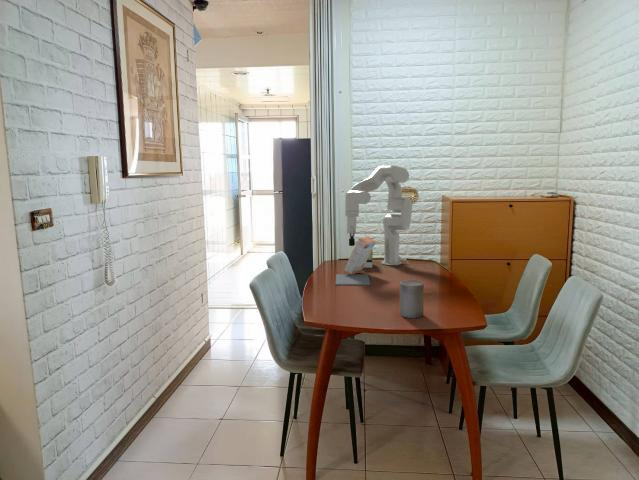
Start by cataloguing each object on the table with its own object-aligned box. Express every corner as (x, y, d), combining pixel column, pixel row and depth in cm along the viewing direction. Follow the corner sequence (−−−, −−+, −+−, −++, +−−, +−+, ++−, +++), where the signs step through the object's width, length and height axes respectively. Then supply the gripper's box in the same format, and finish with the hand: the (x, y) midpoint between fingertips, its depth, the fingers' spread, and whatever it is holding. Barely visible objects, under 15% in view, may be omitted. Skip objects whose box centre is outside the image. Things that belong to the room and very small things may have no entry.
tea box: (372, 267, 288) (373, 244, 285) (356, 268, 288) (356, 244, 286) (370, 263, 303) (370, 240, 300) (355, 263, 303) (355, 240, 301)
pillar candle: (420, 311, 199) (420, 276, 196) (426, 318, 189) (426, 281, 187) (397, 311, 198) (397, 277, 196) (402, 318, 189) (402, 282, 187)
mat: (367, 275, 266) (367, 274, 266) (370, 285, 244) (370, 284, 244) (336, 275, 267) (336, 274, 267) (335, 285, 245) (335, 284, 245)
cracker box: (353, 266, 278) (368, 236, 271) (361, 271, 275) (377, 241, 268) (342, 270, 266) (358, 238, 259) (351, 275, 263) (366, 243, 256)
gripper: (345, 212, 272) (345, 243, 275) (345, 214, 258) (345, 247, 260) (358, 212, 272) (358, 243, 275) (359, 214, 257) (358, 247, 260)
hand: (351, 245), depth 267 cm, fingers closed
